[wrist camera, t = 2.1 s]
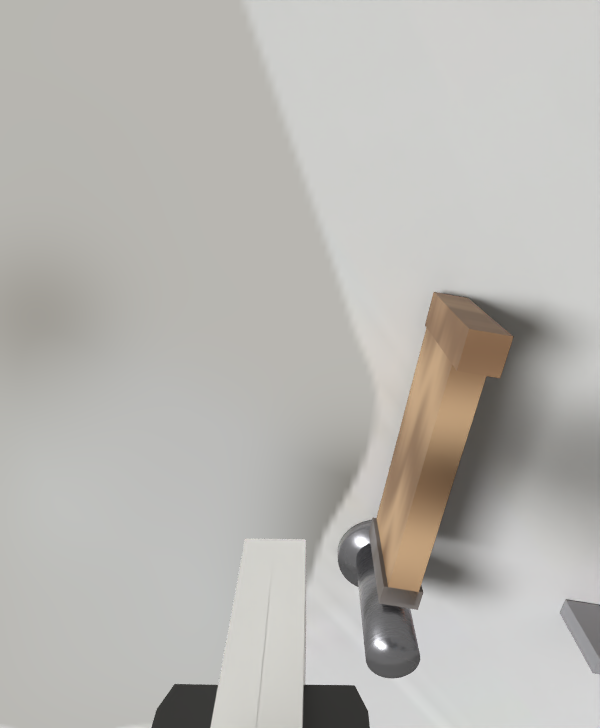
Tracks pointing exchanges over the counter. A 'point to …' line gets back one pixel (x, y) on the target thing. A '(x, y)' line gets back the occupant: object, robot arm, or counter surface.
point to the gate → (432, 441)
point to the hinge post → (378, 610)
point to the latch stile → (584, 629)
